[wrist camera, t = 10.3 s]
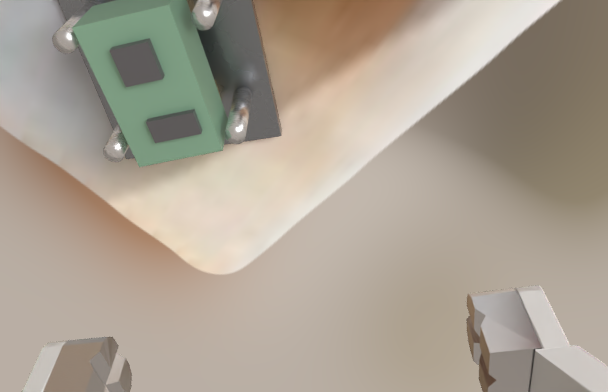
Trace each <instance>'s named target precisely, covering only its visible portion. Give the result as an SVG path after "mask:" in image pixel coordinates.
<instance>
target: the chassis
mask: <svg viewBox="0 0 608 392" xmlns="http://www.w3.org/2000/svg"><path fill="white" fill-rule="evenodd" d="M58 1H59V4H60V6H61V8H62V11H63V13H64V15H65V18H66V20H67V22H66V23H65V24H64V25H63V26H62V27H61V28H60V29H59V30H58V31H57V32H56V33H55V34H54V35H53V38H52V40H53V44H54V46H55V47H56V48H57V49H58V50H59V51H60V52H63V53H72V52H73V51H75V49H76V48H77V47H78V48H79V50H80V53H81V55H82V57H83V60H84V62H85V64H86V67H87V69H88V71H89V74H90V76H91V78H92V81H93V83H94V85H95V88H96V90H97V92H98V95H99V97H100V99H101V102H102V104H103V106H104V109H105V111H106V113H107V116H108V118H109V120H110V123H111V125H112V127H113V130H114V131H113V133H112V135H111V137H110V138H109V140H108V142H107V144H106V146H105V148H104V150H103V154H104V156H105V157H106V158H107V159H108V160H110V161H112V162H119V161H121V160H122V159H123V158H124V155H125V157H126V159H130V158H135V157H134V155H133V153H132V151H131V149H130V147H129V145H128V143H127V140H126V138H125V136H124V134H123V132H122V130H121V128H120V126H119V124H118V122H117V120H116V118H115V116H114V114H113V112H112V110H111V108H110V105H109V103H108V101H107V99H106V97H105V95H104V93H103V91H102V89H101V87H100V85H99V83H98V81H97V79H96V77H95V75H94V72H93V70H92V68H91V66H90V64H89V62H88V60H87V58H86V56H85V54H84V52H83V50H82V48H81V46H80V44H79V42H78V39H77V37H76V35H75V33H74V31H73V29H72V27H73V26H74V25H75V24H76V23H77V22H78V21H79V20H80V19H81V18H82V17H83V16H84V14H85V13H86V12H87V11H88V10H89V9H90V8H91V7H92V6H95V5H99V4H103V3H107V2H111V1H115V0H58ZM187 3H188V6H189V9H190V12H191V22H192V24H193V25H194V26H195V27H196V29H197V32H198V35H199V37H200V40H201V43H202V46H203V49H204V52H205V55H206V58H207V60H208V63H209V66H210V69H211V72H212V75H213V78H214V81H215V83H216V86H217V89H218V92H219V95H220V98H221V101H222V104H223V106H224V109H225V112H226V115H227V118H228V122H227V126H226V131H225V142H224V144H231V143H232V144H240V143H242V142H244V141H251V140H257V139H264V138H271V137H278V136H281V133H282V129H281V124H280V120H279V115H278V111H277V106H276V102H275V97H274V93H273V88H272V84H271V79H270V74H269V70H268V65H267V61H266V56H265V52H264V47H263V43H262V38H261V34H260V29H259V25H258V20H257V16H256V11H255V7H254V2H253V0H187Z"/></svg>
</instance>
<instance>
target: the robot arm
mask: <svg viewBox="0 0 608 392" xmlns="http://www.w3.org/2000/svg"><path fill="white" fill-rule="evenodd" d="M467 308H468V311H469V314H470V316H469V317H468V318H467V335H468V342H469V347H470V351H471V354H472V358H473V361H474V362H475V363H476V364H478V365H479V381H480V384H481V388H482V391H483V392H608V366H607V365H605V364H604V363H603V362H601V361H600V360H598V359H597V358H595V357H594V356H593V355H591V354H590V353H588V352H587V351H585V350H584V349H582V348H581V347H579V346H578V345H572V346H570V344H569V342H568V340H567V338H566V336H565V334H564V332H563V330H562V328H561V326H560V324H559V322H558V320H557V318H556V316H555V314H554V312H553V309H552V307H551V305H550V303H549V302H548V299H547V297H546V295H545V293H544V291H543V289H542V288H541V287H540V286H539V285H536V286H528V287H519V288H509V289H501V290H493V291H485V292H478V293H470V294H468V296H467ZM117 349H118V344H117V343H116V341H115V340H114V338H113V337H102V338H91V339H79V340H68V341H60V342H50V343H47V344H46V345H45V346H44V347H43V348H42V350H41V352H40V354H39V356H38V358H37V360H36V362H35V365H34V367H33V369H32V371H31V373H30V375H29V377H28V380H27V382H26V384H25V386H24V388H23V390H22V392H130V389H131V380H132V377H131V376H132V373H131V369H130V365H129V363H128V361H127V360H126V358H125V357H123V356H121V355H120V354H118V353H117Z"/></svg>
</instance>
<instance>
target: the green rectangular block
mask: <svg viewBox="0 0 608 392" xmlns="http://www.w3.org/2000/svg"><path fill="white" fill-rule="evenodd" d="M72 29H73V31H74V33H75V35H76V37H77V39H78V42H79V44H80V46H81V48H82V50H83V52H84V54H85V56H86V58H87V60H88V62H89V64H90V66H91V68H92V70H93V72H94V75H95V77H96V79H97V81H98V83H99V85H100V87H101V89H102V91H103V93H104V95H105V97H106V99H107V101H108V103H109V105H110V108H111V110H112V112H113V114H114V116H115V118H116V120H117V122H118V124H119V126H120V128H121V130H122V132H123V134H124V136H125V138H126V140H127V143H128V145H129V147H130V149H131V151H132V153H133V155H134V157H135V159H136V161H137V163H138V165H139V167H142V166H147V165H152V164H157V163H162V162H167V161H172V160H177V159H182V158H187V157H192V156H197V155H202V154H208V153H213V152H218V151H223V146H224V142H225V131H226V126H227V122H228V118H227V115H226V112H225V109H224V106H223V104H222V101H221V98H220V95H219V92H218V89H217V86H216V83H215V81H214V78H213V75H212V72H211V69H210V66H209V63H208V60H207V58H206V55H205V52H204V49H203V46H202V43H201V40H200V37H199V35H198V32H197V29H196V27H195V26H194V25H193V24H192V22H191V12H190V9H189V6H188V3H187V0H115V1H111V2H107V3H103V4H99V5H95V6H92V7H91V8H90V9H89V10H88V11H87V12H86V13H85V14H84V16H83V17H82V18H81V19H80V20H79V21H78V22H77V23H76V24H75V25H74V26H73V27H72Z"/></svg>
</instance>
